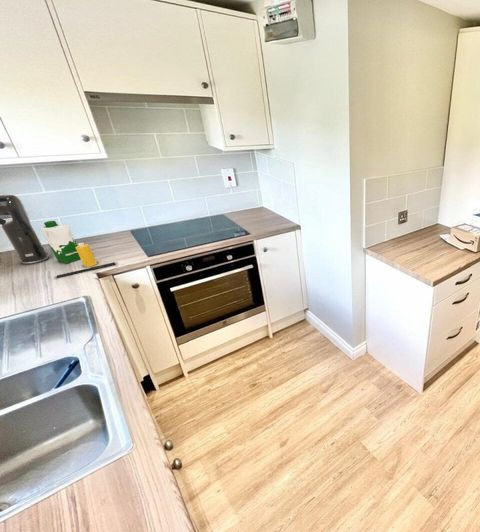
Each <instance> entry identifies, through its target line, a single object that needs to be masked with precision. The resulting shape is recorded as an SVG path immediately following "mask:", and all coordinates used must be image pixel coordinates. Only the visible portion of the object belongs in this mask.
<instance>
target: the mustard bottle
mask: <svg viewBox="0 0 480 532" xmlns="http://www.w3.org/2000/svg"><path fill="white" fill-rule="evenodd" d="M75 248H76V250H77V252H78V254H79V256H80V258H81V259H80V260H81V262H82V265H83V266H84V267H85V268H91V267H95V266H97V265H98V262H97V260H96V257H95V256H94V253H93V251H92V249H91V248H90V245H89V244H87V243H84V242H79V243H77V247H75Z"/></svg>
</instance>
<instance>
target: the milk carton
mask: <svg viewBox="0 0 480 532" xmlns="http://www.w3.org/2000/svg"><path fill="white" fill-rule="evenodd" d="M43 225H44V226H43V227H39V230H40V231H41V233H42V234H43V236H44V238H45V239H46V242H47V243H48V245H49V247H50V249H51V252H52V253H53V255H54V257H55V258H56V260H57V262H60V263H63V264H64V263H65V264H70V263H73V262H76V261H80V260H81V258H80V256H79V254H78V252H77V250H76V248H75V247H77V246H78V243H77V242H76V239H75V237H74V235H73V234H72V233H73V232H72V231H71V228H70V225H68V224H65V223H57V221H56V220H48V221H45V222H43Z"/></svg>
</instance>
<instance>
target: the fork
mask: <svg viewBox="0 0 480 532" xmlns="http://www.w3.org/2000/svg"><path fill="white" fill-rule="evenodd" d="M113 266H116V263H115V261H114V262H109V263H105V264H100V265H94V266H90V267H87V268H84V269H80V270H75V271H70V272H66V273H62V274H57V275H56V278H58V279H59V278H64V277H69V276H72V275H76V274H81V273H85V272H90V271H96V270H99V269H103V268H108V267H113Z"/></svg>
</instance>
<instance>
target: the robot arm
mask: <svg viewBox="0 0 480 532" xmlns="http://www.w3.org/2000/svg"><path fill="white" fill-rule="evenodd" d="M3 216H11V219H10V220H9V221H7V220H6V219H3V218H0V225H1V229H2V230H3V232H4V233H5V235H6V237H7V239H8V240H9V242H10V244H11V245H12V247H13V249H14V251H15V253H16V254H17V256H18V258H19V260H20V262H21V264H23V265H31V264H37V263H40V262H41V263H42V262H44V261H46V260H48V259H49V255H48V254H47V251H46V250H45V248H44V246H43V244H42V242H41V241H40V238H39V237H38V235H37V232H36V231H35V229H34V227H33V226H32V223H31V220H30V217H29V215H28V213H27V211H26V209H25V205H24V204H23V201H22V200H21V199H20V198H19V197H18V196H17V195H14V194H1V195H0V217H3Z"/></svg>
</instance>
